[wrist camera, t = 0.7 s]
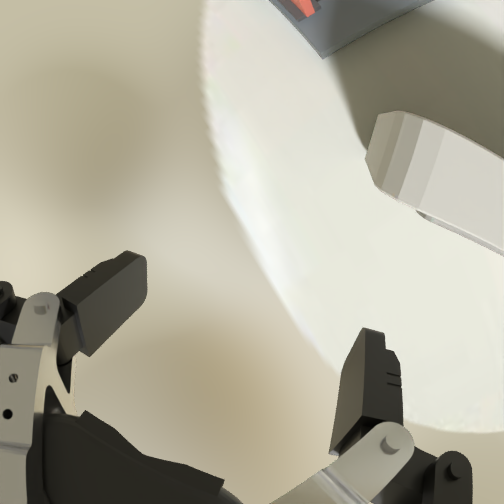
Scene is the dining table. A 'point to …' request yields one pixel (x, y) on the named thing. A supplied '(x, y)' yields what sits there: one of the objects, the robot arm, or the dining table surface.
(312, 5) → the red lever
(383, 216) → the dining table surface
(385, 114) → the rounded white slab
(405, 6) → the console
